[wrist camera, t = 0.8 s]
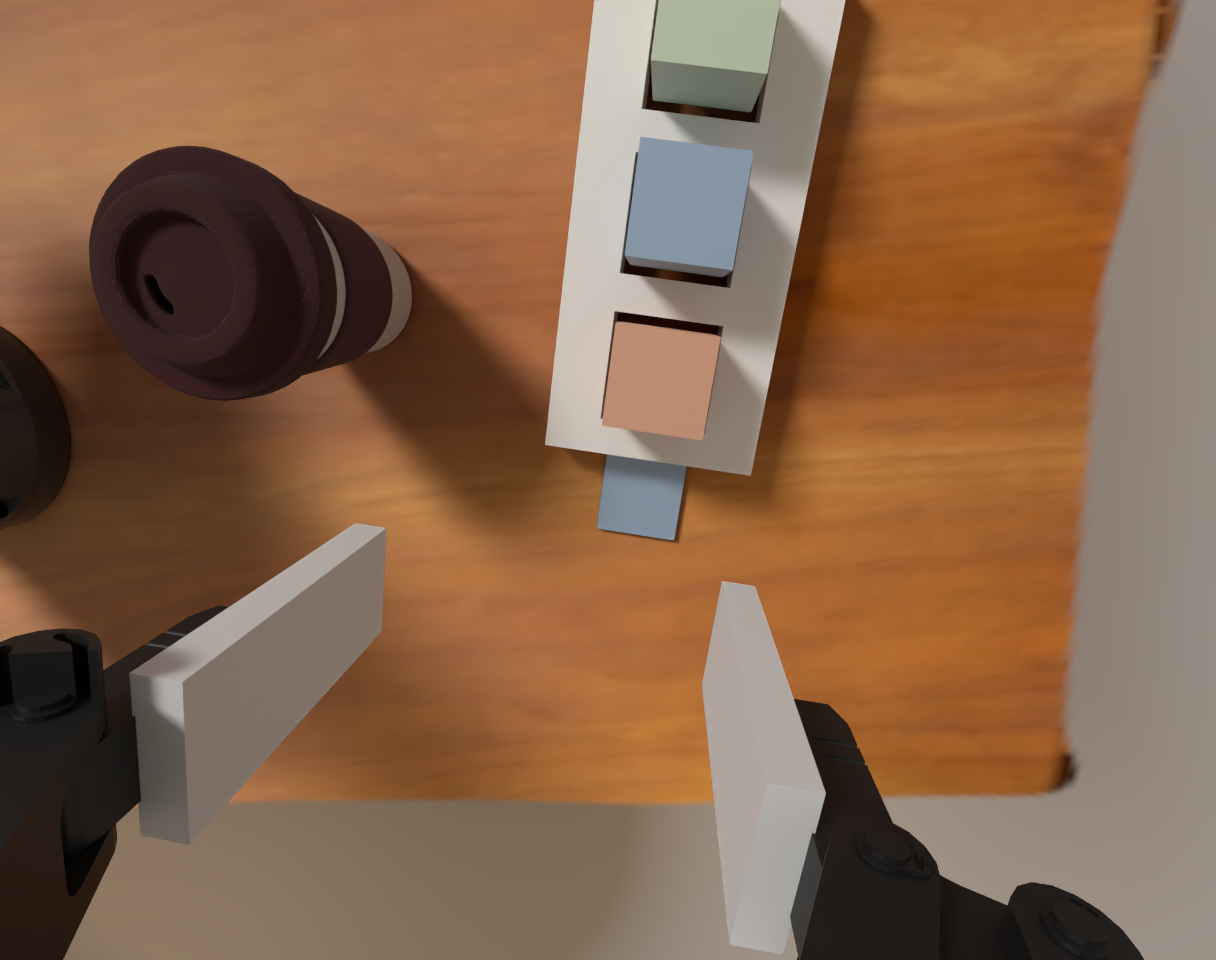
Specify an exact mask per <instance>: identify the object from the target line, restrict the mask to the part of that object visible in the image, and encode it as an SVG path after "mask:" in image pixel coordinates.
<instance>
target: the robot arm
mask: <svg viewBox="0 0 1216 960" xmlns="http://www.w3.org/2000/svg"><path fill="white" fill-rule="evenodd" d="M69 449H70V444H69V432H68V426H67V421H66V417H65V413H64V410H63V407H62V404H61V402H60V399H59V397H58V394H57V392H56V390H55V388H54V386H53V384H52V382H51V381H50V379H49V377H48V376H47V374H46V373H45V371H44V370H43V368H42V367H41V365H40V364H39V363H38V361H37V360H36V359H35V358H34V357H33V355H32V354H31V353H30V352H29V351H28V350H27V349H26V348H25V347H24V346H23V345H22V344H21V343H20V342H19V341H18V340H17V339H15V338H14V337H13V336H12V335H11V334H9V333H8V332H7V331H5V330H4V329H2V328H1V327H0V529H3V528H6V527H9V526H12V525H15V524H19V523H21V522H24V521H26V520H28V519H30V518H32V517H34V516H36V515H37V514H39V513H40V512H41V511H43V510H44V509H45V508H46V507H47V506H48V505H49V504H50V503H51V501H52V500H53V499H54V498H55V496H56V495H57V493H58V491H59V490H60V488H61V486H62V483H63V481H64V478H65V475H66V472H67V468H68V462H69ZM385 547H386V528H383V527H376V526H370V525H364V524H357V523H355V524H353V525H352V526H350V527H349V528H347V529H346V530H344V531H343V532H341V533H340V534H338V535H337V536H335V537H334V538H332V539H331V540H329V541H328V542H326V543H325V544H323V545H322V546H320V547H319V548H317V549H316V550H314V551H313V552H311V553H310V554H308V555H307V556H305V557H304V558H302V559H301V560H299V561H298V562H296V563H295V564H293V565H292V566H290V567H289V568H287V569H286V570H284V571H283V572H281V573H280V574H278V575H277V576H275V577H273V578H272V579H270V580H269V581H267V582H266V583H264V584H263V585H261V586H260V587H258V588H257V589H255V590H254V591H252V592H251V593H249V594H248V595H246V596H245V597H243V598H242V599H240V600H239V601H237V602H236V603H234V604H233V605H231V606H230V607H225V606H217V607H214V608H211V609H208V610H206V611H203V612H200V613H197V614H194V615H191V616H189V617H188V618H186V619H184V620H183V621H181V622H180V623H178V624H176V625H175V626H173V627H172V628H170V629H168V630H167V633H162V634H160V635H159V636H157V637H156V638H154V639H153V640H151V641H149V643H148V645H143V646H141V647H140V648H138V649H137V650H135V651H133V652H132V653H130V654H129V655H127V656H125V657H124V658H122V659H121V660H119V661H117V662H116V663H114V664H113V665H111V666H110V667H108V668H106V669H105V670H103V660H102V648H101V641H100V639H99V638H98V637H97V636H96V634H94V633H91V632H87V631H84V630H80V629H52V630H43V631H36V632H32V633H28V634H23V635H19V636H15V637H12V638H9V639H7V640H4V641H2V642H0V960H63V958H64V957H65V954H66V952H67V950H68V948H69V946H70V944H71V942H72V940H73V938H74V935H75V934H76V931H77V929H78V927H79V925H80V923H81V921H82V919H83V917H84V914H85V913H86V910H87V908H88V906H89V904H90V902H91V900H92V898H93V896H94V894H95V892H96V890H97V887H98V885H99V883H100V881H101V879H102V877H103V875H104V873H105V871H106V869H107V867H108V865H109V862H110V860H111V858H112V856H113V854H114V852H115V847H116V842H117V831H116V823H117V822H118V821H119V820H120V819H121V818H122V817H124V815H126V814H127V813H128V812H129V811H130V810H131V809H132V808H133V807H134V806H135V805H137V804H138V803H139V818H140V832H141V835H142V836H147V837H152V838H157V839H163V840H168V841H174V842H179V843H184V844H191V843H192V841H193V840H194V839H195V838H196V837H197V836H198V835H199V834H200V833H201V831H202V830H203V829H204V828H205V827H206V826H207V825H208V824H209V822H210V821H211V820H212V819H213V818H214V817H215V816H216V815H217V814H218V812H219V811H220V810H221V809H222V808H223V807H224V806H225V805H226V804H227V803H228V801H229V800H230V799H231V798H232V797H233V796H234V795H235V794H236V793H237V792H238V790H239V789H240V788H241V787H242V786H243V785H244V784H245V783H246V782H247V780H248V779H249V778H250V777H251V776H252V775H253V774H254V773H255V772H256V770H257V769H258V768H259V767H260V766H261V765H262V764H263V763H264V762H265V760H266V759H267V758H268V757H269V756H270V755H271V754H272V753H273V752H274V750H275V749H276V748H277V747H278V746H279V745H280V744H281V743H282V742H283V740H284V739H285V738H286V737H287V736H288V735H289V734H290V733H291V732H292V730H293V729H294V728H295V727H296V726H297V725H298V724H299V723H300V722H301V720H302V719H303V718H304V717H305V716H306V715H307V714H308V713H309V712H310V710H311V709H312V708H313V707H314V706H315V705H316V704H317V703H318V702H319V700H320V699H321V698H322V697H323V696H324V695H325V694H326V693H327V692H328V691H329V689H330V688H331V687H332V686H333V685H334V684H335V683H336V682H337V681H338V679H339V678H340V677H341V676H342V675H343V674H344V673H345V672H346V671H347V669H348V668H349V667H350V666H351V665H352V664H353V663H354V662H355V661H356V659H357V658H358V657H359V656H360V655H361V654H362V653H363V652H364V651H365V649H366V648H367V647H368V646H369V645H370V644H371V643H372V642H373V641H374V639H375V638H376V637H377V636H378V635H379V634H380V633H381V632H382V614H383V592H384V570H385ZM702 689H703V699H704V708H705V718H706V727H707V737H708V746H709V756H710V765H711V775H712V784H713V794H714V803H715V813H716V821H717V832H718V841H719V850H720V860H721V870H722V879H723V889H724V898H725V908H726V917H727V927H728V937H729V945H734V946H739V947H745V948H750V949H756V950H761V951H766V952H772V953H777V954H782V955H783V953H784V949H785V946H786V942H787V938H788V934H789V930H790V926H791V924H792V929H793V933H794V938H795V943H796V947H797V952H798V958H797V960H1144V959H1143V957H1142V955H1141V954H1140V952H1139V951H1138V949H1137V948H1136V947H1135V945H1134V944H1133V943H1132V942H1131V940H1130V939H1129V938H1128V936H1127V935H1126V934H1125V933H1124V931H1123V930H1122V929H1121V928H1120V927H1118V926H1117V925H1116V924H1115V923H1114V922H1113V921H1112V920H1110V919H1109V918H1108V917H1107V916H1106V915H1105V914H1104V913H1102V912H1101V911H1100V910H1098V909H1097V908H1095V907H1094V906H1092V905H1091V904H1089V903H1087V902H1086V901H1084V900H1083V899H1081V898H1079V897H1078V896H1076V895H1074V894H1071V893H1069V892H1066V891H1064V890H1062V889H1059V888H1057V887H1054V886H1052V885H1045V884H1039V883H1032V882H1031V883H1027V884H1023V885H1020V886H1017V887H1016V889H1015V891H1014V892H1013V894H1012V896H1011V897H1010V900H1009V903H1008V905H1005V904H1003V903H1000V902H998V901H995V900H993V899H991V898H988V897H986V896H984V895H981V894H979V893H976V892H974V891H972V890H969V889H967V888H965V887H962V886H960V885H958V884H956V883H954V882H952V881H950V880H948V879H946V878H944V877H942V876H941V875H940V874H939V871H938V867H937V863H936V861H935V860H934V859H933V857H932V856H931V854H930V853H929V851H928V850H927V848H926V847H925V846H924V845H923V844H922V843H921V842H919V841H918V840H917V839H916V838H915V837H914V836H913V835H911V834H910V833H909V832H908V831H906V830H904V829H902V828H901V827H899V826H897V825H895V824H894V823H893V822H892V820H891V818H890V816H889V813H888V812H887V809H886V807H885V805H884V802H883V800H882V798H881V796H880V794H879V791H878V789H877V787H876V785H875V783H874V780H873V778H872V776H871V774H870V772H869V769H868V767H867V766H866V765H865V761H864V759H863V756H862V754H861V752H860V750H859V748H857V743H856V741H855V739H854V737H853V734H852V732H851V730H850V728H849V726H848V724H847V723H846V722H845V721H844V720H843V719H842V718H841V717H840V716H839V715H838V714H837V713H836V712H835V711H834V710H833V709H832V708H831V707H830V706H829V705H828V704H822V703H816V702H810V701H803V700H797V699H793V696H792V693H791V690H790V687H789V684H788V681H787V678H786V675H785V672H784V669H783V667H782V664H781V661H780V658H779V655H778V652H777V649H776V646H775V643H774V640H773V637H772V634H771V631H770V629H769V626H768V623H767V620H766V617H765V614H764V611H763V608H762V605H761V602H760V599H759V596H758V593H757V591H756V588H755V586H751V585H744V584H738V583H732V582H725V581H722V584H721V590H720V595H719V600H718V605H717V610H716V615H715V620H714V625H713V631H712V636H711V641H710V646H709V651H708V656H707V661H706V667H705V672H704V677H703V682H702Z"/></svg>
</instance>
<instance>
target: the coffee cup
mask: <svg viewBox="0 0 1216 960" xmlns="http://www.w3.org/2000/svg"><path fill="white" fill-rule="evenodd" d="M89 255H90V271H91V276H92V282H93V287H94V291H95V294H96V297H97V300H98V303H99V306H100V309H101V312H102V314H103V316H104V318H105V320H106V322H107V324H108V326H109V327H110V329H111V331H112V332H113V334H114V336H115V337H116V338H117V339H118V341H119V342H120V343H121V345H122V346H123V347H124V349H125V350H126V351H127V352H128V353H129V354H130V355H131V357H132V358H133V359H134V360H135V361H136V362H137V363H138V364H139V365H140V366H141V367H142V368H143V369H145V370H146V371H147V372H149V373H150V374H151V375H153V376H154V377H155V378H157V379H159V380H160V381H162V382H163V383H165V384H167V385H168V386H170V387H172V388H174V389H176V390H178V391H181V392H184V393H187V394H189V395H193V396H196V397H200V398H204V399H211V400H223V401H227V400H239V399H245V398H250V397H255V396H261V395H265V394H269V393H272V392H275V391H277V390H279V389H282V388H284V387H286V386H288V385H289V384H291V383H292V382H294V381H295V380H297V379H298V378H300V377H301V376H302V375H306V374H309V373H313V372H316V371H320V370H323V369H327V368H330V367H334V366H337V365H341V364H344V363H347V362H350V361H352V360H355V359H356V358H358V357H360V356H362V355H363V354H366V353H369V352H373V351H376V350H379V349H381V348H383V347H385V346H386V345H388V344H389V343H390V342H392V341H393V340H394V339H395V338H396V337H397V336H398V335H399V333H400V332H401V331H402V330H403V328H404V326H405V324H406V322H407V320H408V317H409V314H410V310H411V305H412V289H411V284H410V279H409V275H408V273H407V271H406V268H405V266H404V264H403V262H402V261H401V259H400V257H399V256H398V254H397V253H396V252H395V251H394V250H393V249H392V248H391V246H389V245H388V244H387V243H386V242H385V241H384V240H382V239H381V238H380V237H378V236H376V235H374V234H373V233H371V232H368V231H366V230H364V229H362V228H361V227H360V226H359V225H357V224H356V223H355V222H353V221H352V220H350V219H348V218H347V217H345V216H343V215H341V214H339V213H337V212H335V211H333V210H331V209H329V208H326V207H324V206H322V205H320V204H318V203H316V202H314V201H312V200H310V199H308V198H305V197H303V196H301V195H299V194H297V193H295V192H293V191H292V190H291V189H290V188H289V187H288V186H287V185H286V184H285V183H284V182H283V181H281V180H280V179H279V178H277V177H276V176H275V175H273V174H272V173H270V172H268V171H267V170H265V169H264V168H262V167H260V166H258V165H256V164H254V163H251V162H249V161H246V160H244V159H241V158H239V157H236V156H233V155H231V154H228V153H225V152H222V151H219V150H215V149H210V148H206V147H198V146H177V147H170V148H166V149H161V150H158V151H155V152H152V153H150V154H147V155H145V156H143V157H141V158H139V159H137V160H136V161H134V162H133V163H131V164H130V165H129V166H128V167H127V168H125V169H124V170H123V171H122V172H120V174H119V175H118V176H117V177H116V178H115V180H114V181H113V182H112V183H111V185H110V186H109V187H108V189H107V190H106V192H105V194H104V196H103V197H102V199H101V201H100V203H99V205H98V208H97V211H96V214H95V217H94V220H93V224H92V229H91V233H90V242H89Z"/></svg>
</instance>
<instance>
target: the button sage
mask: <svg viewBox="0 0 1216 960" xmlns="http://www.w3.org/2000/svg"><path fill="white" fill-rule="evenodd" d="M779 5H780V0H659V2H658V9H657V17H656V24H655V32H654V39H653V46H652V54H651V76H652V95H653V101H662V102H670V103H678V104H686V105H694V106H702V107H711V108H719V109H727V110H735V111H743V112H751V111H752V109H753V107H754V104H755V102H756V100H757V97H758V95H759V92H760V90H761V88H762V85H763V83H764V81H765V78H766V76H767V73H768V67H769V62H770V56H771V50H772V45H773V39H774V33H775V28H776V22H777V16H778V11H779Z"/></svg>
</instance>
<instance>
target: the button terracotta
mask: <svg viewBox="0 0 1216 960" xmlns="http://www.w3.org/2000/svg"><path fill="white" fill-rule="evenodd" d="M720 339H721V337H720V336H717V335H713V334H707V333H700V332H693V331H686V330H679V329H672V328H664V327H657V326H650V325H643V324H636V323H629V322H616V323H615V331H614V338H613V345H612V353H611V360H610V368H609V375H608V383H607V390H606V398H605V405H604V413H603V420H602V426H608V427H614V428H621V429H628V430H635V431H641V432H648V433H655V434H662V435H668V436H675V437H682V438H689V439H695V440H702V441H703V435H704V430H705V424H706V418H707V413H708V407H709V401H710V396H711V390H712V384H713V379H714V373H715V367H716V362H717V356H718V350H719V345H720Z"/></svg>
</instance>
